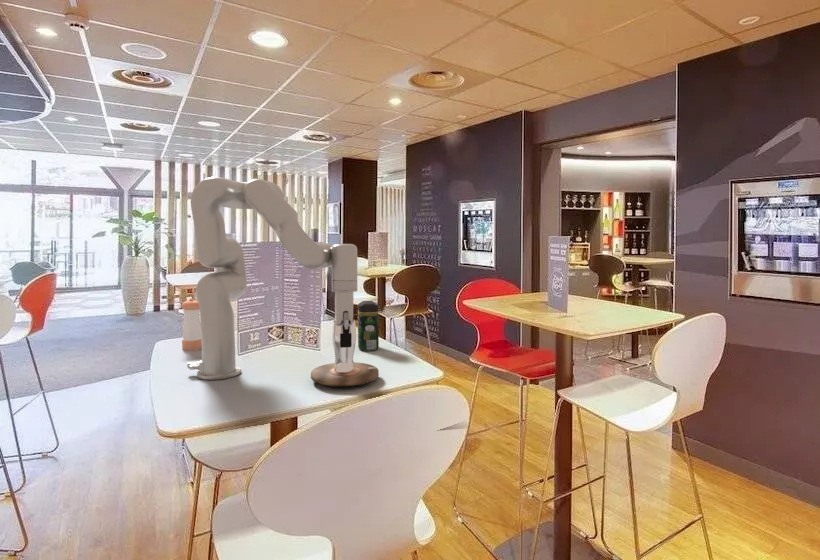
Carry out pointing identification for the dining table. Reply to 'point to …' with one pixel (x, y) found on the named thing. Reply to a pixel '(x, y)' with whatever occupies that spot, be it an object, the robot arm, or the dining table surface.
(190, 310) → the orange and white bottle
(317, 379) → the disc
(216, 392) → the dining table surface
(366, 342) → the coffee jar
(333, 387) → the turntable base
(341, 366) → the beer glass
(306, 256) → the robot arm
